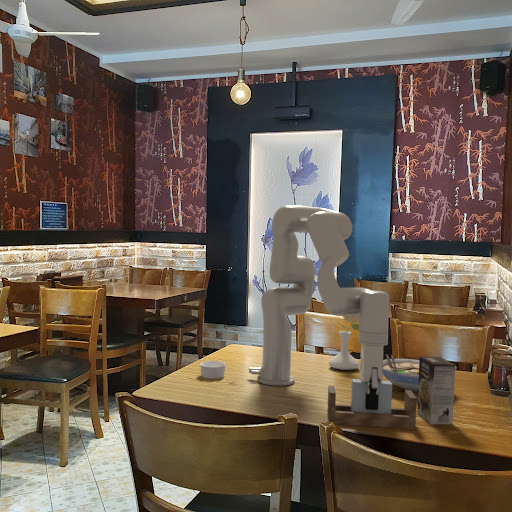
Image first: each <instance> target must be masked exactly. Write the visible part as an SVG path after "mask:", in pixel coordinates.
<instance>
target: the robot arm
mask: <svg viewBox="0 0 512 512" xmlns="http://www.w3.org/2000/svg"><path fill="white" fill-rule="evenodd" d="M271 222H272V223H271V229H272V230H271V231H272V246H271V247H272V248H271V257H270V263H269V278H270V280H271V282H273V283H275V284H280V285H293V286H278V287H277V286H276V287H270V288H268V289H266V290H264V291H263V293H262V295H261V298H260V299H261V302H260V303H261V311H262V320H263V322H262V323H263V325H262V326H263V329H262V330H263V331H262V334H263V336H262V360H261V361H262V364H261V366H258V367H253V366H249V368H248V374H252V375H257V378H256V379H257V380H256V381H257V382H258V383H260V384H263V385H268V386H276V387H277V386H278V387H281V386H289V385H293V384H294V383H295V381H296V379H295V378H296V377H295V376H292V375H291V363H292V362H291V361H292V359H291V358H292V333H293V329H292V325H291V323H290V321H289V319H288V317H287V316H298V315H304V314H306V313H307V312H308V311H309V310H310V308H311V304H312V300H313V293H314V285H315V277H316V268H315V264H314V262H313V260H312V259H311V258H309V257H308V256H306V255H298V250H299V240H298V239H297V235H296V233H303V234H309V236H310V237H309V238H310V239H311V242H312V244H313V247H314V248H315V251H316V253H317V256H318V258H319V260H320V265H319V266H320V267H319V269H318V270H317V271H318V272H317V279H316V281H317V283H316V284H317V289H318V292H319V295H320V298H321V300H322V302H323V305H324V307H325V308H326V310H327V312H329V313H330V314H331V315H333V316H338V317H340V316H342V317H343V316H344V315H359V322H358V324H359V330H358V339H357V340H358V341H357V342H358V343H359V344H361V345H360V346H361V348H360V361H359V362H360V363H359V377H360V380H362V382H363V383H365V382H367V394H366V402H365V408H366V409H367V410H378V397H379V395H378V383H379V384H380V383H382V381H383V376H384V375H383V360H384V346H388V344H389V341H388V340H389V315H390V314H389V312H390V296H389V295H390V294H388V293H387V292H386V291H382V290H372V289H369V288H366V287H340V286H339V284H338V281H337V279H336V278H337V277H336V276H335V268H338V267H339V266H341V265H342V264H344V262H346V260H348V258H349V257H350V252H349V249H348V248H347V247H348V246H347V245H346V243H345V240H347V239H349V237H351V235H352V233H353V223H352V221H351V219H350V217H349V216H348V215H347V214H345V213H344V212H343V213H342V212H339V211H335V210H331V209H327V208H323V207H315V206H307V205H295V204H293V205H292V204H291V205H283V206H281V207H279V208H278V209H277V210H276V212H275V213H274V215H273V217H272V221H271ZM369 380H372V382H369ZM370 385H372V386H370Z"/></svg>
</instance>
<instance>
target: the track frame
mask: <svg viewBox="0 0 512 512" xmlns="http://www.w3.org/2000/svg"><path fill="white" fill-rule="evenodd" d="M335 387H336V386H335V385H330V384H329V385H328V390H327V392H328V393H327V421H329V422H333V423H335V424H334V425H346V426H361V427H374V426H382V427H381V428H389V427H397V428H396V429H403V428H409V429H408V430H416V426H417V425H416V424H417V423H416V422H417V405H418V397H416V395H415V394H414V392H413V391H411V390H404V402H403V403H404V406H403V407H404V408H402V407H391V414H375V413H360V412H352V410H351V404H341V403H340V404H339V403H337V402H336V401H337V399H336V397H337V393H336V388H335Z"/></svg>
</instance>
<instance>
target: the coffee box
mask: <svg viewBox="0 0 512 512" xmlns="http://www.w3.org/2000/svg"><path fill="white" fill-rule="evenodd" d="M418 360H419V384H418V392H417V409H416V414H418V415H420V416H421V417H422V418H423V419H424V420H425V421H426V422H428V423H429V424H430V425H453V419H454V417H453V416H454V399H455V381H456V364H455V363H452V362H451V361H449V360H447V359H446V358H443V357H441V356H429V355H428V356H427V355H421V356H419V358H418Z"/></svg>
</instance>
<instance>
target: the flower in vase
mask: <svg viewBox="0 0 512 512" xmlns="http://www.w3.org/2000/svg"><path fill="white" fill-rule="evenodd" d="M342 317H343V319H344V321H346V322H347V323H350V324H351V325H350V326H349V327H348V328H347V326H345V325H343V324H341V323H340V322H338V324H339V325H340V326H341V327H343V328H345V329H347V330H340V331H338V333H337V334H339V336H340V340H341V348H340V351H339V352H338V353H337V354H336V355H335V356H333V357H331V359H329V362H328V365H329V366H330V367H331V368H333V369H336V370H341V371H342V370H343V371H345V370H346V371H352V370H356V369H357V368H360V363H359V362H358V360H357V359H356V358H355V357H354V356H352V355H351V353H350V352H349V351H348V350H349V349H348V345H349V343H348V342H349V339H350V336H351V335H352V332H351V331H349V330H350V329H351V328H352V329H353V330H354V331H359V315H344V316H342Z"/></svg>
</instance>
